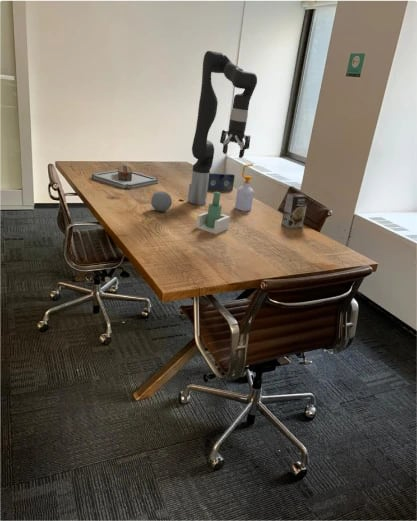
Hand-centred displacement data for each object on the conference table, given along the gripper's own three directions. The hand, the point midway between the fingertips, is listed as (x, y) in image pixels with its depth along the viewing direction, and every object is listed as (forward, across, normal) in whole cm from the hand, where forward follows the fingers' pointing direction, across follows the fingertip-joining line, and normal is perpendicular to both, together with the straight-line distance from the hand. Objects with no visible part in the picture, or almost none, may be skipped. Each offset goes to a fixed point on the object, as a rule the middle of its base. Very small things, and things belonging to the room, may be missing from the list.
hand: (232, 155), depth 206 cm
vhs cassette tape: (+34, +35, -51) cm, 70 cm away
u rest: (+32, -3, +13) cm, 35 cm away
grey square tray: (+35, +79, -16) cm, 88 cm away
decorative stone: (+33, +28, +13) cm, 45 cm away
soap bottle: (+33, +4, -29) cm, 44 cm away
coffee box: (+32, -27, -25) cm, 48 cm away
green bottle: (+31, -2, +13) cm, 34 cm away
